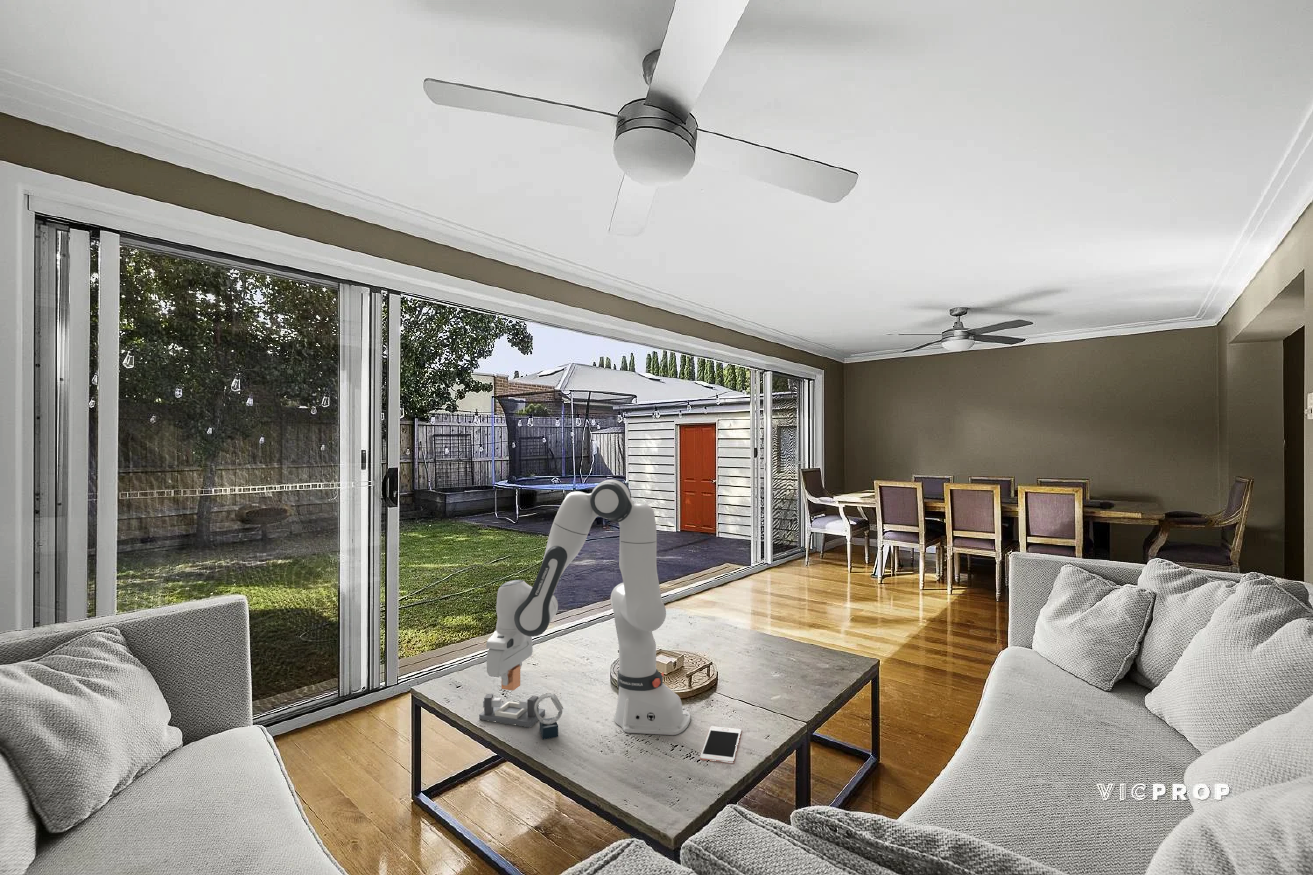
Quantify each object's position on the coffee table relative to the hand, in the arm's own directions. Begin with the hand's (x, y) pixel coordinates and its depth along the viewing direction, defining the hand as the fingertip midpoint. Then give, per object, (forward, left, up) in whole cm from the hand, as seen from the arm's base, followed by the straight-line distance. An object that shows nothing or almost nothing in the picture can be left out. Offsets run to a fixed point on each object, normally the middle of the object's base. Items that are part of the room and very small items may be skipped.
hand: (510, 681), depth 184 cm
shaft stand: (0, 0, -11) cm, 11 cm away
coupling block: (0, 0, -2) cm, 2 cm away
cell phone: (-64, -2, -11) cm, 65 cm away
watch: (-16, +6, -11) cm, 20 cm away
